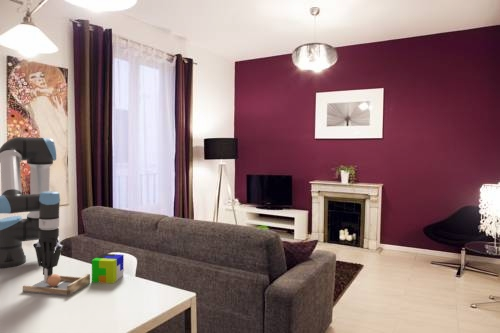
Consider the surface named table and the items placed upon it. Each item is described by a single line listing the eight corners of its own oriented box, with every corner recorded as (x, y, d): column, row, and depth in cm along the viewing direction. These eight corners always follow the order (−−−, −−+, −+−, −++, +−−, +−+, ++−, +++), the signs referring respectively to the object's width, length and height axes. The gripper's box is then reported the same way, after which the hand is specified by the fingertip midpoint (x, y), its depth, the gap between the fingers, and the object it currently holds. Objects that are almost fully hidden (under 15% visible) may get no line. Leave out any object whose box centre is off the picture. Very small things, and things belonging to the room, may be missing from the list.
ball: (54, 270, 153) (64, 275, 152) (51, 280, 153) (61, 285, 152) (46, 274, 148) (56, 279, 147) (43, 285, 148) (52, 290, 148)
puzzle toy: (123, 275, 166) (123, 254, 166) (113, 283, 156) (113, 261, 156) (103, 274, 167) (103, 253, 167) (91, 282, 157) (91, 260, 157)
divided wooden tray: (47, 278, 159) (47, 270, 158) (89, 282, 156) (89, 274, 155) (22, 290, 145) (22, 281, 145) (69, 294, 142) (69, 286, 142)
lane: (47, 279, 159) (47, 278, 159) (89, 283, 156) (89, 282, 156) (22, 291, 145) (22, 290, 145) (69, 296, 142) (69, 294, 142)
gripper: (28, 228, 147) (27, 284, 148) (56, 231, 145) (54, 287, 146) (42, 225, 154) (40, 278, 155) (68, 227, 152) (66, 281, 153)
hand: (47, 282), depth 150 cm, fingers closed
